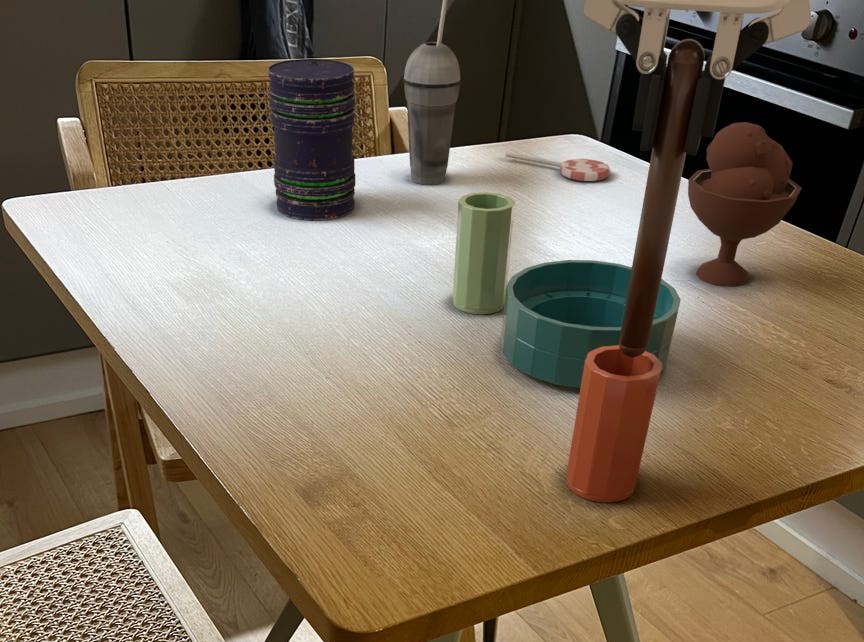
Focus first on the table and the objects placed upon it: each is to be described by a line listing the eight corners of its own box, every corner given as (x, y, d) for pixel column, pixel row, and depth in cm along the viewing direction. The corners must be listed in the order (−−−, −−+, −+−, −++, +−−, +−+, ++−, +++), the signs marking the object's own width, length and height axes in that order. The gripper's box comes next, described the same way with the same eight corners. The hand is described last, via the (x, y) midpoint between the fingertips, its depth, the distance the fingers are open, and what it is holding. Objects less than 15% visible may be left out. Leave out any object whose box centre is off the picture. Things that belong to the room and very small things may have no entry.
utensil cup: (638, 472, 75) (665, 351, 69) (629, 508, 72) (657, 384, 65) (572, 460, 76) (592, 340, 70) (560, 495, 73) (580, 372, 66)
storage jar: (352, 222, 115) (350, 80, 105) (270, 219, 115) (260, 78, 105) (359, 194, 122) (358, 59, 112) (281, 191, 123) (274, 57, 113)
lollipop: (517, 144, 135) (618, 163, 129) (516, 152, 136) (616, 171, 130) (495, 156, 131) (598, 176, 125) (494, 164, 132) (597, 185, 126)
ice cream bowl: (739, 305, 99) (782, 146, 89) (649, 273, 105) (679, 120, 95) (794, 278, 104) (839, 125, 94) (705, 249, 110) (739, 102, 100)
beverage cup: (405, 168, 130) (409, -8, 117) (458, 172, 129) (469, -5, 116) (396, 186, 125) (399, 3, 111) (452, 189, 124) (462, 6, 111)
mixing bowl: (673, 334, 94) (687, 272, 90) (655, 407, 83) (670, 341, 79) (520, 311, 97) (526, 251, 93) (483, 379, 86) (488, 314, 82)
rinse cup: (509, 297, 100) (519, 195, 93) (497, 317, 96) (507, 213, 89) (460, 290, 101) (467, 189, 94) (447, 310, 97) (453, 206, 90)
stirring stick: (647, 351, 68) (709, 36, 55) (644, 364, 66) (706, 44, 53) (618, 347, 68) (673, 34, 55) (614, 359, 67) (669, 41, 54)
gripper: (923, -275, 46) (809, 141, 59) (592, -273, 50) (551, 119, 62) (936, -279, 41) (808, 179, 54) (566, -276, 45) (526, 152, 57)
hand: (670, 144), depth 58 cm, fingers closed on stirring stick, 2 cm apart
